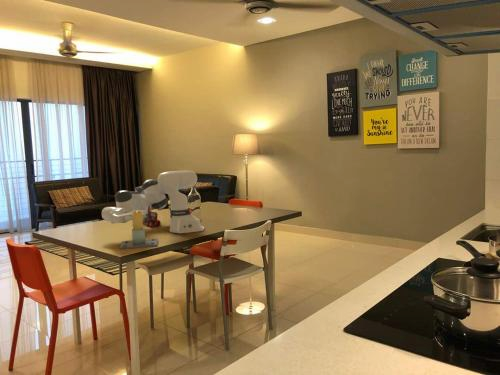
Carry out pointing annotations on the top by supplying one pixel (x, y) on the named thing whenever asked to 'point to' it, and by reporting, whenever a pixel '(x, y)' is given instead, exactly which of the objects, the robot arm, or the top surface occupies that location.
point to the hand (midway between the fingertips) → (138, 217)
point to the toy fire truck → (153, 219)
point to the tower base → (130, 244)
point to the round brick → (137, 220)
